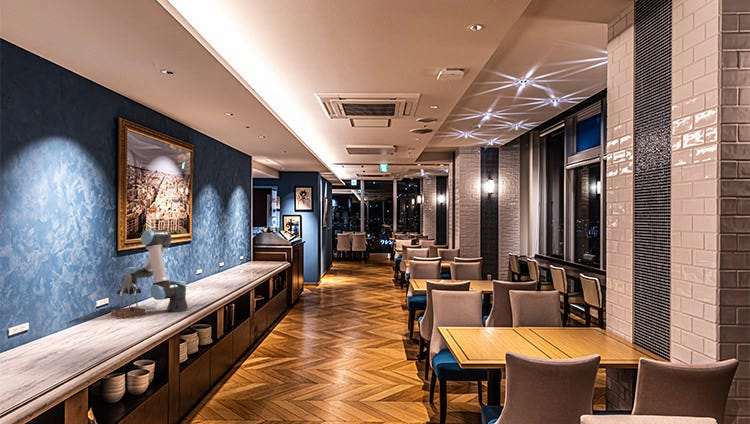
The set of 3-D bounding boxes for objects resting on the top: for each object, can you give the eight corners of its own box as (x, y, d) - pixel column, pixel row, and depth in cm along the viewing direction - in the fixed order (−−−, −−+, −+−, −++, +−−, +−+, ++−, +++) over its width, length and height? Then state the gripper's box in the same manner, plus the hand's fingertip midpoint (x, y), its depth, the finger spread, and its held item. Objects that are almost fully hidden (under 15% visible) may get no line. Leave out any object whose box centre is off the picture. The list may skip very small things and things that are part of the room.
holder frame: (145, 314, 353) (145, 309, 353) (122, 318, 338) (123, 313, 338) (133, 311, 361) (133, 306, 361) (110, 315, 347) (110, 310, 347)
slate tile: (154, 308, 374) (154, 307, 374) (137, 311, 362) (137, 310, 362) (144, 306, 382) (144, 305, 382) (127, 309, 370) (127, 308, 370)
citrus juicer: (130, 316, 344) (128, 275, 342) (116, 316, 344) (114, 275, 343) (138, 312, 355) (136, 272, 354) (125, 312, 356) (123, 272, 354)
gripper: (145, 293, 371) (144, 297, 350) (115, 294, 362) (111, 299, 341) (146, 283, 371) (144, 287, 350) (115, 284, 362) (111, 289, 341)
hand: (128, 293), depth 346 cm, fingers closed on citrus juicer, 9 cm apart
